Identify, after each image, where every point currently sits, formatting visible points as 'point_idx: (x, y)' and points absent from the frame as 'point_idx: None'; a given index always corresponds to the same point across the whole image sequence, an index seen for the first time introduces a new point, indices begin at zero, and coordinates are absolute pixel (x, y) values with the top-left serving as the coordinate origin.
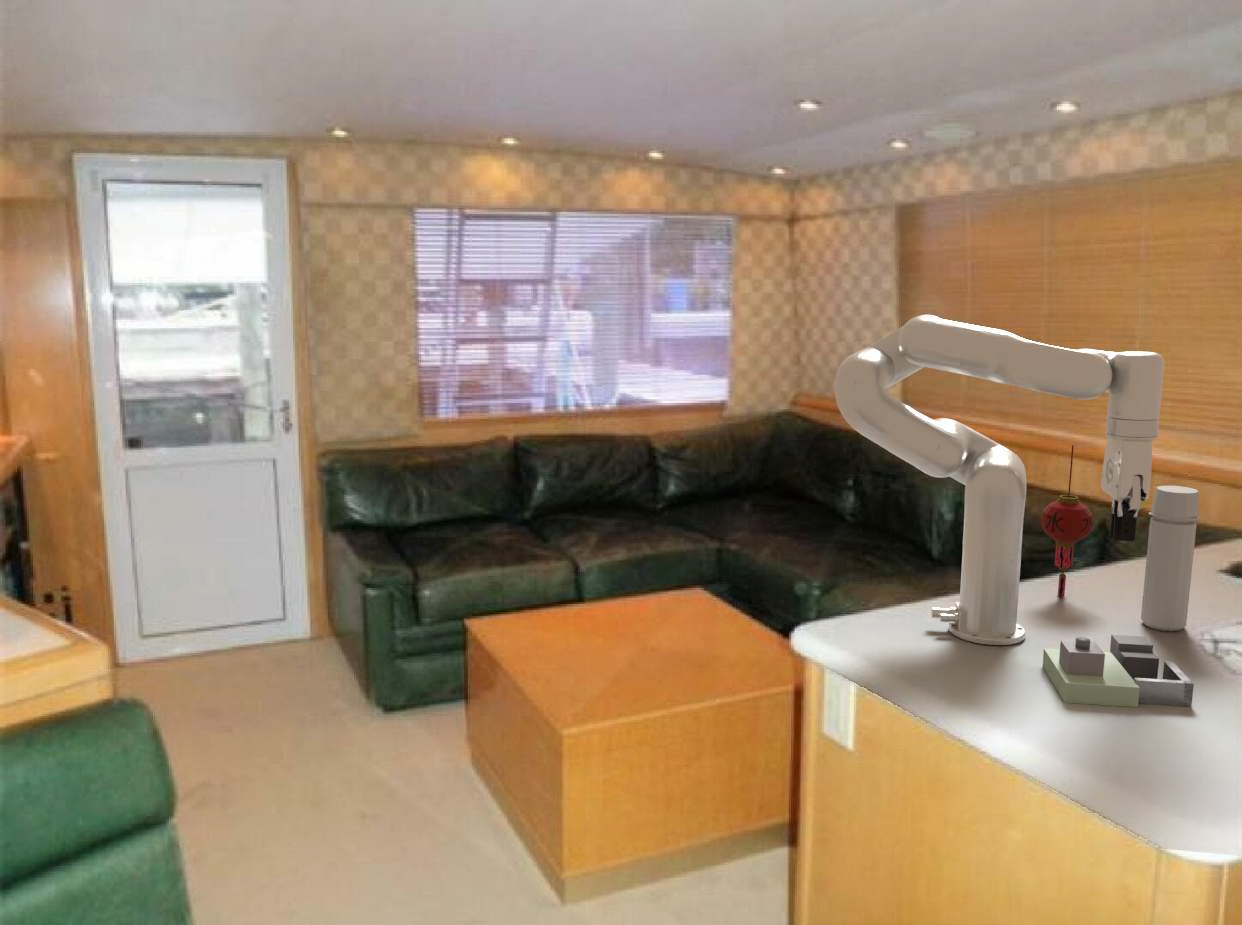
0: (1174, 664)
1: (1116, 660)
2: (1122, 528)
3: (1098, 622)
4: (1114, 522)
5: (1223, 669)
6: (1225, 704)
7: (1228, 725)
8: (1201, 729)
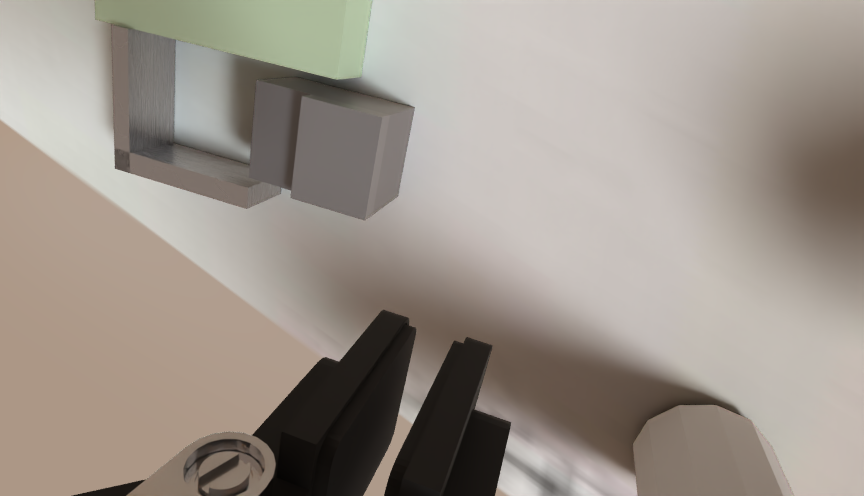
0: (227, 200)
1: (272, 60)
2: (296, 397)
3: (786, 283)
4: (339, 393)
5: None
6: (181, 240)
7: (86, 176)
8: (58, 106)
